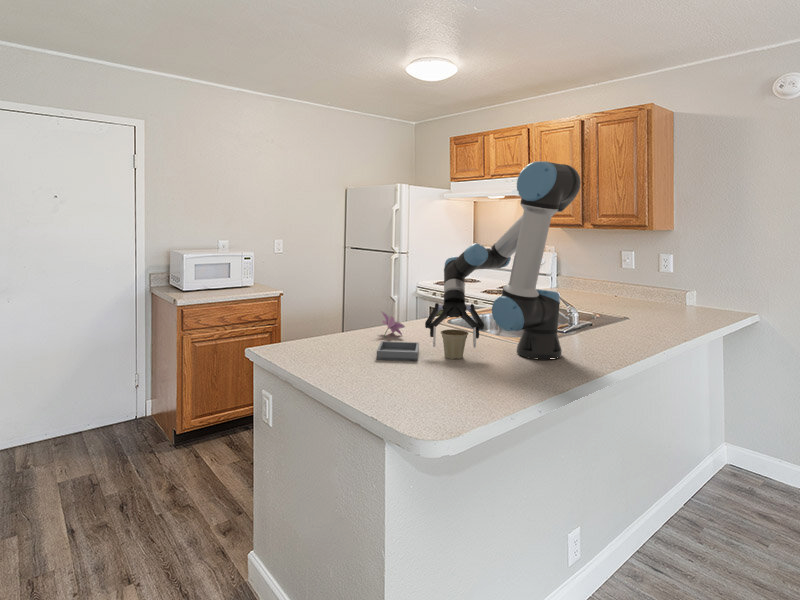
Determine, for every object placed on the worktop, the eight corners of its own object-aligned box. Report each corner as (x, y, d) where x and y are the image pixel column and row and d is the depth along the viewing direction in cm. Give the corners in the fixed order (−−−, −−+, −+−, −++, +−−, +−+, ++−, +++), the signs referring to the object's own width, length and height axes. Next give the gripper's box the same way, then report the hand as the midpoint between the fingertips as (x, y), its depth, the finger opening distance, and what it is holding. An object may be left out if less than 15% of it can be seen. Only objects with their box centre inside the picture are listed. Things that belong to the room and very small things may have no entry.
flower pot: (466, 361, 167) (467, 336, 165) (438, 359, 168) (439, 334, 167) (468, 354, 176) (469, 330, 174) (441, 352, 177) (442, 328, 176)
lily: (405, 342, 196) (412, 319, 199) (377, 331, 193) (385, 308, 196) (394, 344, 208) (401, 323, 210) (369, 334, 204) (376, 313, 207)
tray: (418, 350, 180) (419, 342, 179) (417, 361, 166) (417, 352, 166) (381, 349, 180) (381, 341, 180) (376, 359, 167) (376, 350, 167)
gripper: (488, 301, 184) (490, 352, 171) (419, 299, 185) (417, 349, 173) (490, 289, 178) (493, 340, 165) (419, 287, 179) (417, 338, 167)
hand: (454, 345), depth 169 cm, fingers open, 13 cm apart
